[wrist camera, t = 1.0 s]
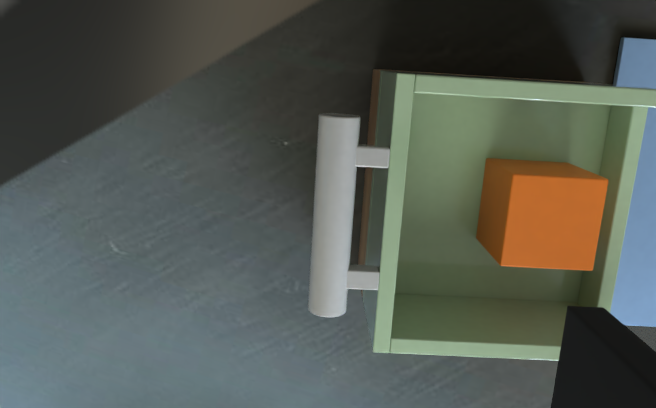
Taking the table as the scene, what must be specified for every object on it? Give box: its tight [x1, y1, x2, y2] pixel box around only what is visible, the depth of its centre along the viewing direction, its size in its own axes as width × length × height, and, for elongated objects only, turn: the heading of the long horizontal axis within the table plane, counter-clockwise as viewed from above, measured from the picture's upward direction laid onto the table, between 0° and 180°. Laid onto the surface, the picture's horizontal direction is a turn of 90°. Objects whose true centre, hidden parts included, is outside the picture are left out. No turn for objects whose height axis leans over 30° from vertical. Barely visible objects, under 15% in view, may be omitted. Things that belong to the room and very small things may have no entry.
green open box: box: [308, 70, 656, 361], centre depth 26 cm, size 14×11×6 cm
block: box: [476, 158, 608, 271], centre depth 27 cm, size 4×4×4 cm
